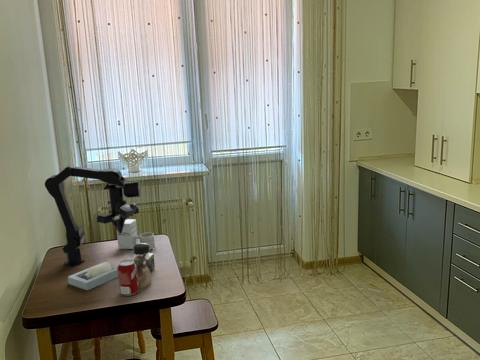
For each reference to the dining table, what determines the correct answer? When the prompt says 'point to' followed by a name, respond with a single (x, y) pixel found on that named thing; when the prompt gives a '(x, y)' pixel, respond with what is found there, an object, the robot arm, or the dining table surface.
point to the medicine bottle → (142, 249)
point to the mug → (146, 239)
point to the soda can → (128, 277)
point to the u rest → (93, 282)
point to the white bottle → (97, 270)
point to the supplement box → (127, 235)
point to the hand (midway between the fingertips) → (120, 233)
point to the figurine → (142, 271)
